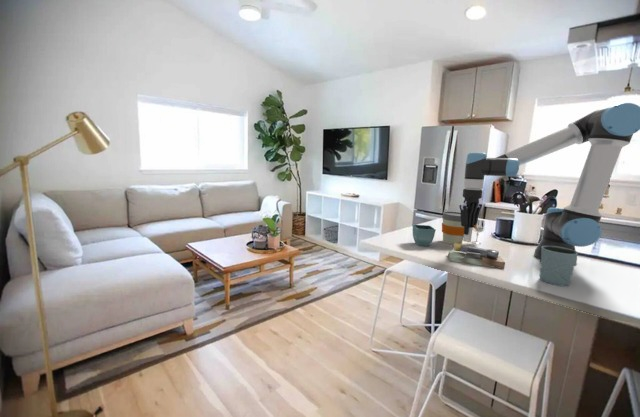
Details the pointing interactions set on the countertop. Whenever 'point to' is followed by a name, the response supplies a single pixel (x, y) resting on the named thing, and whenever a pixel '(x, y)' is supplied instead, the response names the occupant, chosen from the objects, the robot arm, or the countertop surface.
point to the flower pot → (423, 234)
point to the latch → (476, 250)
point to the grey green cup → (557, 265)
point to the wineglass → (479, 229)
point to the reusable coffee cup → (452, 228)
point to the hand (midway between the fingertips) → (467, 241)
